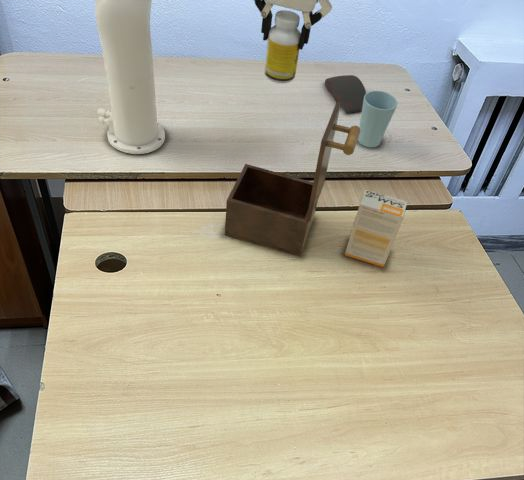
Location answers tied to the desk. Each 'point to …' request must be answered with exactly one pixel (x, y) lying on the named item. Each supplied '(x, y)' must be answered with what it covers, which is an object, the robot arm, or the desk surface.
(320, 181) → the lid
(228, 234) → the chest
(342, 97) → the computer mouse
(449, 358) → the desk surface
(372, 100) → the cup
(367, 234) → the supplement box
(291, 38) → the pill bottle
